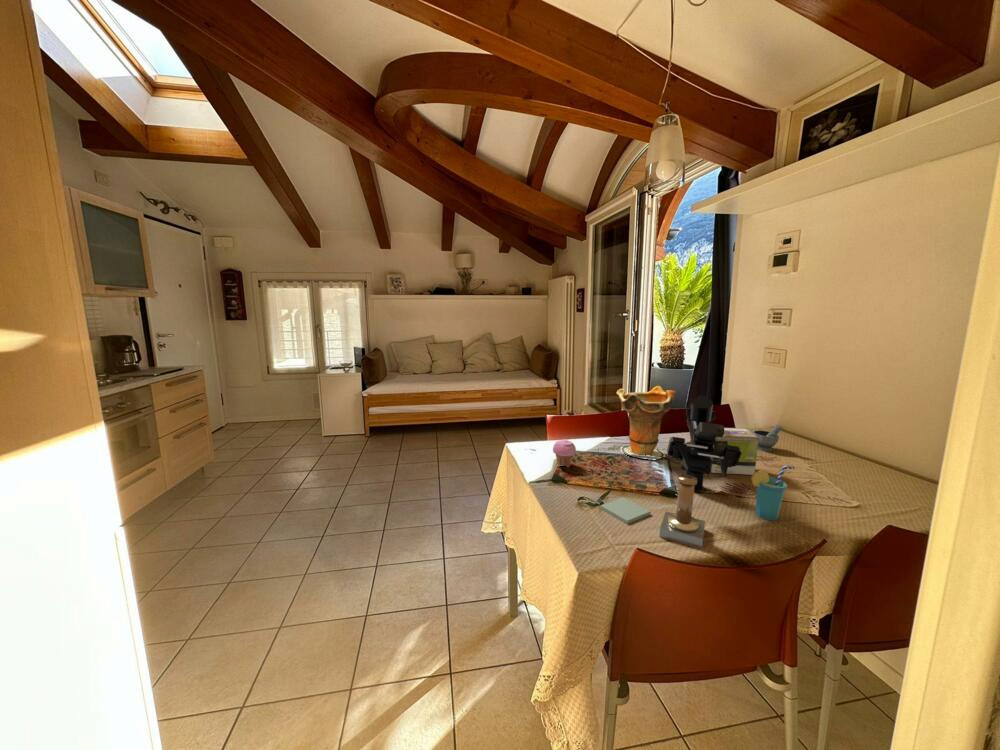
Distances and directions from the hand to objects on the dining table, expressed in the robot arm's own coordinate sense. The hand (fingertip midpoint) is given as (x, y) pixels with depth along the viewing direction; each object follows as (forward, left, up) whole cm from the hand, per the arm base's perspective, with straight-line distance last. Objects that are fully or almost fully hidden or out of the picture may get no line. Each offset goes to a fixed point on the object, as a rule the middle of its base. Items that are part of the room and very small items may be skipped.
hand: (706, 472), depth 111 cm
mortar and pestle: (-61, +56, -15) cm, 84 cm away
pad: (-5, -20, -15) cm, 26 cm away
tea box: (-38, +28, -15) cm, 50 cm away
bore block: (+6, -8, -15) cm, 18 cm away
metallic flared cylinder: (+6, -8, -14) cm, 18 cm away
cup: (-5, +22, -15) cm, 27 cm away
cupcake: (-40, -33, -15) cm, 54 cm away
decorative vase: (-55, +2, -15) cm, 57 cm away
